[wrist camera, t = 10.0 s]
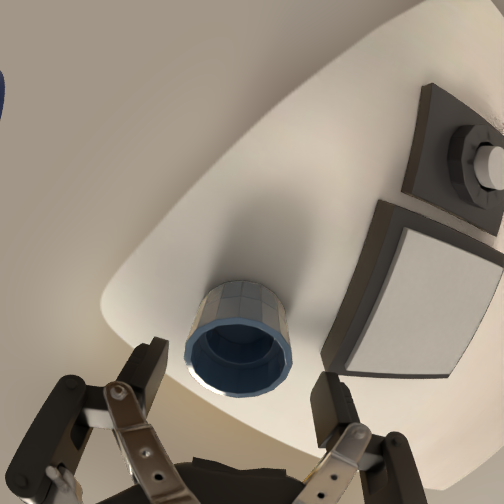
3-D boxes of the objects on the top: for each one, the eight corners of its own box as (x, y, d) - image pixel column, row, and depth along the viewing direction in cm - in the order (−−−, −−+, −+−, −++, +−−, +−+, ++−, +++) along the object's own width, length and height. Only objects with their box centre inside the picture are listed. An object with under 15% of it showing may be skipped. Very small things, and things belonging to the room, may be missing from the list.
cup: (195, 338, 19) (180, 385, 15) (208, 268, 18) (191, 305, 13) (271, 355, 20) (274, 404, 15) (295, 288, 18) (307, 330, 13)
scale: (319, 353, 20) (327, 379, 17) (378, 199, 16) (400, 206, 13) (436, 363, 20) (450, 382, 18) (491, 247, 17) (513, 259, 14)
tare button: (469, 177, 13) (485, 180, 11) (476, 138, 12) (491, 138, 10) (492, 192, 13) (507, 196, 11) (499, 156, 12) (513, 157, 11)
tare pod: (400, 191, 16) (425, 197, 13) (421, 86, 13) (445, 77, 11) (486, 232, 16) (509, 242, 14) (504, 145, 14) (527, 147, 11)
